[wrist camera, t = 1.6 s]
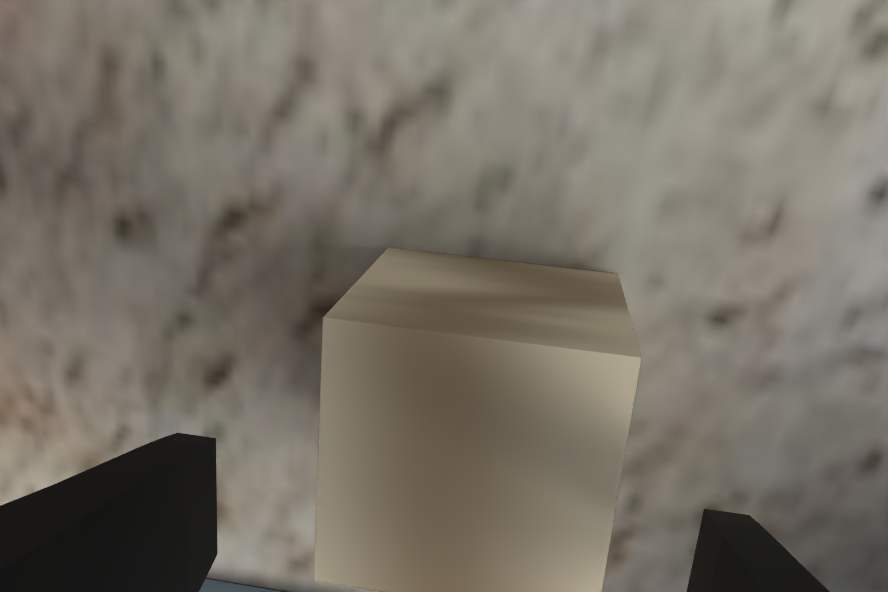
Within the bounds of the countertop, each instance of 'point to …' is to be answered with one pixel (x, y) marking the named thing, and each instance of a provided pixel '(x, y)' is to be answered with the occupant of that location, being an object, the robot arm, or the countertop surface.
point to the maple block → (472, 426)
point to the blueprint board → (229, 587)
